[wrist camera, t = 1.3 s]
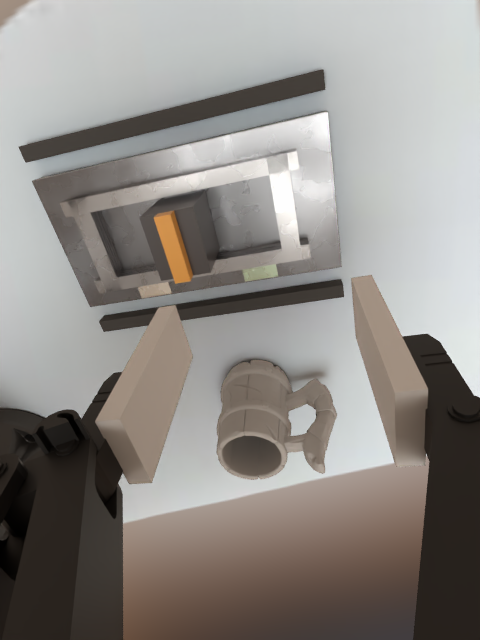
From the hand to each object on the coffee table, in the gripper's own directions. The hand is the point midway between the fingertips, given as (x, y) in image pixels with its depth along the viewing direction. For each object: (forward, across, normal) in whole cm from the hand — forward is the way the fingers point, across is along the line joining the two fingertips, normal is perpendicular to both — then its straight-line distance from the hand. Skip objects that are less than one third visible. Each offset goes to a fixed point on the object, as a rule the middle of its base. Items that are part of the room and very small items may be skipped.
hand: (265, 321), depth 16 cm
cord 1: (+19, -7, -8) cm, 22 cm away
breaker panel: (+19, -7, 0) cm, 20 cm away
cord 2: (+19, -7, +8) cm, 22 cm away
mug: (+19, -3, -19) cm, 27 cm away
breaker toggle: (+17, -7, 0) cm, 19 cm away
